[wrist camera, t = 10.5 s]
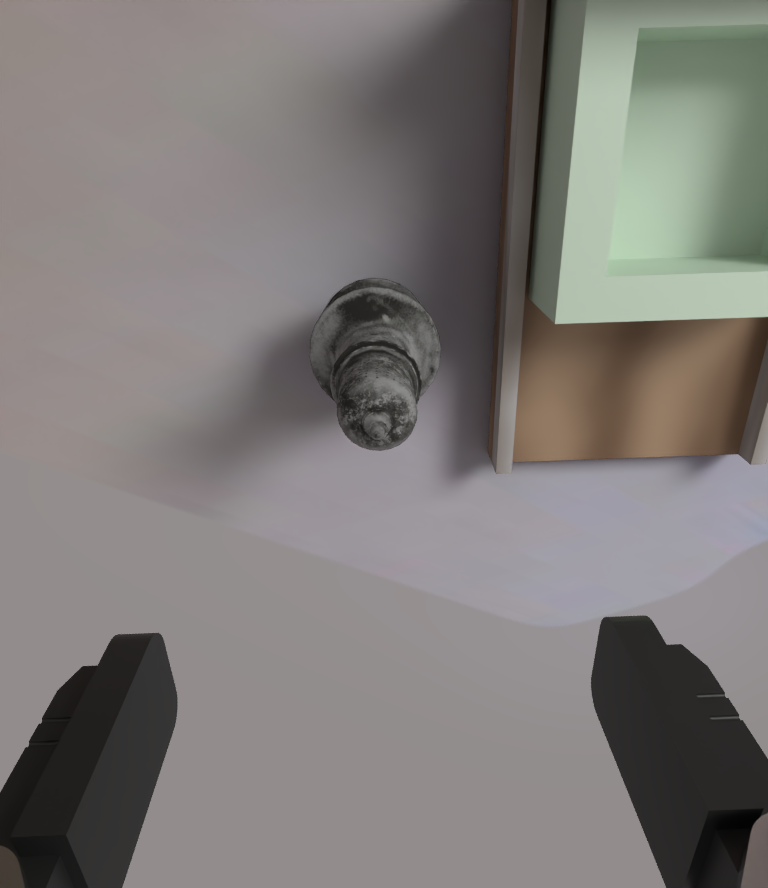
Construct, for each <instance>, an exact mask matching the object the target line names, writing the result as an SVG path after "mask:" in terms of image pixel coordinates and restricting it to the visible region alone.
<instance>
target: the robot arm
mask: <svg viewBox="0 0 768 888" xmlns="http://www.w3.org/2000/svg"><path fill="white" fill-rule="evenodd" d="M591 690H592V697H593V703H594V707H595V710H596V713H597V716H598V719H599V721H600V723H601V726H602V728H603V731H604V733H605V736H606V738H607V741H608V743H609V746H610V748H611V751H612V753H613V756H614V758H615V761H616V763H617V766H618V768H619V771H620V773H621V776H622V778H623V781H624V783H625V786H626V788H627V791H628V793H629V796H630V798H631V801H632V803H633V806H634V808H635V811H636V813H637V816H638V818H639V821H640V823H641V826H642V828H643V831H644V833H645V836H646V838H647V841H648V843H649V846H650V848H651V851H652V853H653V856H654V858H655V860H656V863H657V866H658V868H659V870H660V873H661V875H662V878H663V880H664V883H665V885H666V888H768V759H767V757H766V756H765V754H764V753H763V751H762V749H761V748H760V746H759V745H758V743H757V742H756V740H755V739H754V737H753V735H752V734H751V732H750V731H749V729H748V728H747V726H746V725H745V723H744V722H743V720H740V719H739V714H738V712H737V711H736V709H735V708H734V706H733V705H732V703H731V702H730V700H729V698H726V697H725V692H724V691H723V689H722V688H721V686H720V685H719V683H718V681H717V680H716V678H715V677H714V676H713V674H712V672H711V671H710V669H709V668H708V666H707V665H705V664H704V663H703V662H702V661H700V660H699V659H698V658H697V657H696V656H695V655H693V654H692V653H691V652H690V651H689V650H688V649H686V648H685V647H684V646H683V645H681V644H679V645H666V643H665V642H664V640H663V638H662V636H661V634H660V633H659V631H658V630H657V628H656V626H655V625H654V623H653V621H652V620H651V619H650V618H649V617H648V616H623V617H622V616H621V617H604V618H603V619H602V622H601V625H600V630H599V635H598V641H597V647H596V654H595V659H594V665H593V670H592V677H591ZM176 717H177V692H176V688H175V684H174V680H173V676H172V672H171V668H170V664H169V660H168V656H167V652H166V647H165V643H164V640H163V637H162V636H161V634H159V633H144V634H122V635H121V634H118V635H115V636H114V637H113V639H111V641H110V643H109V645H108V646H107V649H106V650H105V652H104V654H103V656H102V658H101V660H100V663H99V664H98V666H83V667H81V668H80V669H79V670H78V671H77V672H76V673H75V674H74V675H73V676H72V677H71V678H70V679H69V680H68V681H67V682H66V683H65V684H64V685H63V686H62V687H61V688H60V689H59V690H58V691H57V693H56V695H55V696H54V698H53V700H52V701H51V703H50V705H49V707H48V708H47V710H46V712H45V714H44V716H43V718H42V723H41V724H39V725H38V726H37V728H36V730H35V732H34V733H33V735H32V737H31V739H30V741H29V746H28V747H26V748H25V750H24V751H23V753H22V755H21V757H20V759H19V760H18V762H17V764H16V766H15V767H14V769H13V771H12V773H11V774H10V776H9V778H8V780H7V782H6V783H5V785H4V787H3V789H2V791H1V792H0V888H122V886H123V883H124V880H125V877H126V874H127V871H128V868H129V865H130V862H131V859H132V856H133V853H134V850H135V847H136V844H137V841H138V837H139V834H140V831H141V828H142V825H143V822H144V819H145V816H146V813H147V810H148V807H149V804H150V801H151V797H152V795H153V792H154V788H155V786H156V782H157V779H158V776H159V773H160V770H161V767H162V763H163V761H164V758H165V755H166V752H167V749H168V746H169V743H170V739H171V737H172V733H173V730H174V727H175V723H176Z"/></svg>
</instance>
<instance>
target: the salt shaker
mask: <svg viewBox="0 0 768 888" xmlns="http://www.w3.org/2000/svg"><path fill="white" fill-rule="evenodd" d="M440 354H441V347H440V341H439V334H438V331H437V329H436V327H435V325H434V322H433V320H432V318H431V317H430V315H429V314H428V313H427V312H426V311H425V309H424V308H423V307H422V306H421V305H420V303H419V301H418V300H417V299H416V298H415V297H414V295H413V294H412V293H411V292H410V291H409V290H407V289H406V288H404V287H403V286H401V285H400V284H398V283H395V282H392V281H390V280H387V279H378V278H369V279H363V280H358V281H356V282H354V283H352V284H349V285H347V286H345V287H344V288H343V289H342V290H340V291H339V292H338V293H337V294H336V295H335V296H334V297H333V298H332V300H331V301H330V303H329V305H328V306H327V308H326V309H325V310H324V312H323V313H322V315H321V316H320V318H319V319H318V321H317V322H316V324H315V327H314V330H313V333H312V336H311V340H310V361H311V365H312V369H313V373H314V375H315V377H316V379H317V381H318V382H319V384H320V386H321V388H322V389H323V390H324V391H325V392H326V393H327V394H328V395H329V396H330V397H331V398H332V399H333V400H334V401H335V402H336V404H337V417H338V421H339V424H340V426H341V428H342V430H343V432H344V433H345V435H346V436H347V437H348V438H349V439H350V440H351V441H352V442H353V443H355V444H357V445H358V446H360V447H362V448H366V449H369V450H378V451H381V450H387V449H391V448H394V447H396V446H398V445H400V444H401V443H402V442H404V441H405V440H406V439H407V438H408V437H409V435H410V434H411V433H412V431H413V428H414V426H415V423H416V421H417V403H418V400H419V398H420V396H422V395H423V394H424V392H425V391H426V390H427V388H428V387H429V386H430V384H431V383H432V382H433V380H434V377H435V375H436V372H437V370H438V367H439V362H440Z"/></svg>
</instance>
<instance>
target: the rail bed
mask: <svg viewBox="0 0 768 888" xmlns="http://www.w3.org/2000/svg"><path fill="white" fill-rule="evenodd" d="M551 1H552V0H512V16H511V34H510V53H509V71H508V90H507V108H506V126H505V145H504V163H503V182H502V200H501V219H500V237H499V256H498V274H497V293H496V311H495V329H494V348H493V366H492V385H491V403H490V422H489V440H488V454H489V457H490V459H491V462H492V465H493V467H494V470H495V472H496V474H503V473H512V462H527V461H556V460H584V459H612V458H640V457H669V456H697V455H725V454H739V455H740V456H741V457H742V458H743V459H745V460H746V461H747V462H748V463H749V464H750V465H756V464H766V463H767V459H768V317H750V318H720V319H690V320H660V321H630V322H600V323H571V324H554V323H553V322H552V321H551V320H550V319H549V318H548V317H547V316H546V315H545V314H544V313H543V312H542V311H541V310H540V309H539V308H538V307H537V306H536V305H535V304H534V303H533V302H532V301H531V300H530V299H529V298H528V297H529V284H530V271H531V258H532V245H533V232H534V219H535V207H536V194H537V181H538V168H539V155H540V142H541V129H542V116H543V104H544V91H545V78H546V65H547V52H548V39H549V26H550V13H551Z"/></svg>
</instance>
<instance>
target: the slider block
mask: <svg viewBox="0 0 768 888" xmlns="http://www.w3.org/2000/svg"><path fill="white" fill-rule="evenodd" d="M528 298H529V299H530V300H531V301H532V302H533V303H534V304H535V305H536V306H537V307H538V308H539V309H540V310H541V311H542V312H543V313H544V314H545V315H546V316H547V317H548V318H549V319H550V320H551V321H552V322H553V323H554V324H571V323H600V322H630V321H660V320H690V319H720V318H750V317H768V0H552V1H551V13H550V26H549V39H548V52H547V65H546V78H545V91H544V104H543V116H542V129H541V142H540V155H539V168H538V181H537V194H536V207H535V219H534V232H533V245H532V258H531V271H530V284H529V297H528Z"/></svg>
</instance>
